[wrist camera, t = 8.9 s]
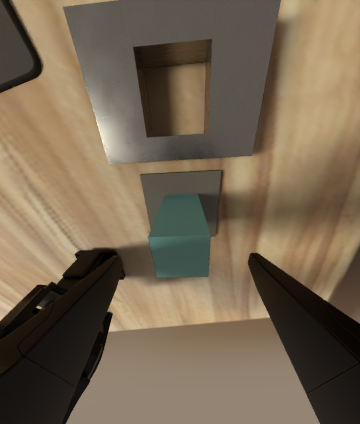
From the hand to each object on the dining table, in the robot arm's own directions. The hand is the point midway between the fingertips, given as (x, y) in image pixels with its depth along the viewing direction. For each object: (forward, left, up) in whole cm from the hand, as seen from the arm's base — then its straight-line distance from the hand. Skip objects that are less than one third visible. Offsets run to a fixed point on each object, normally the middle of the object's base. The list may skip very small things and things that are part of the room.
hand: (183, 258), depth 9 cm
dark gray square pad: (0, 0, -9) cm, 9 cm away
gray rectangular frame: (+10, 0, -9) cm, 13 cm away
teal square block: (0, 0, -8) cm, 8 cm away
